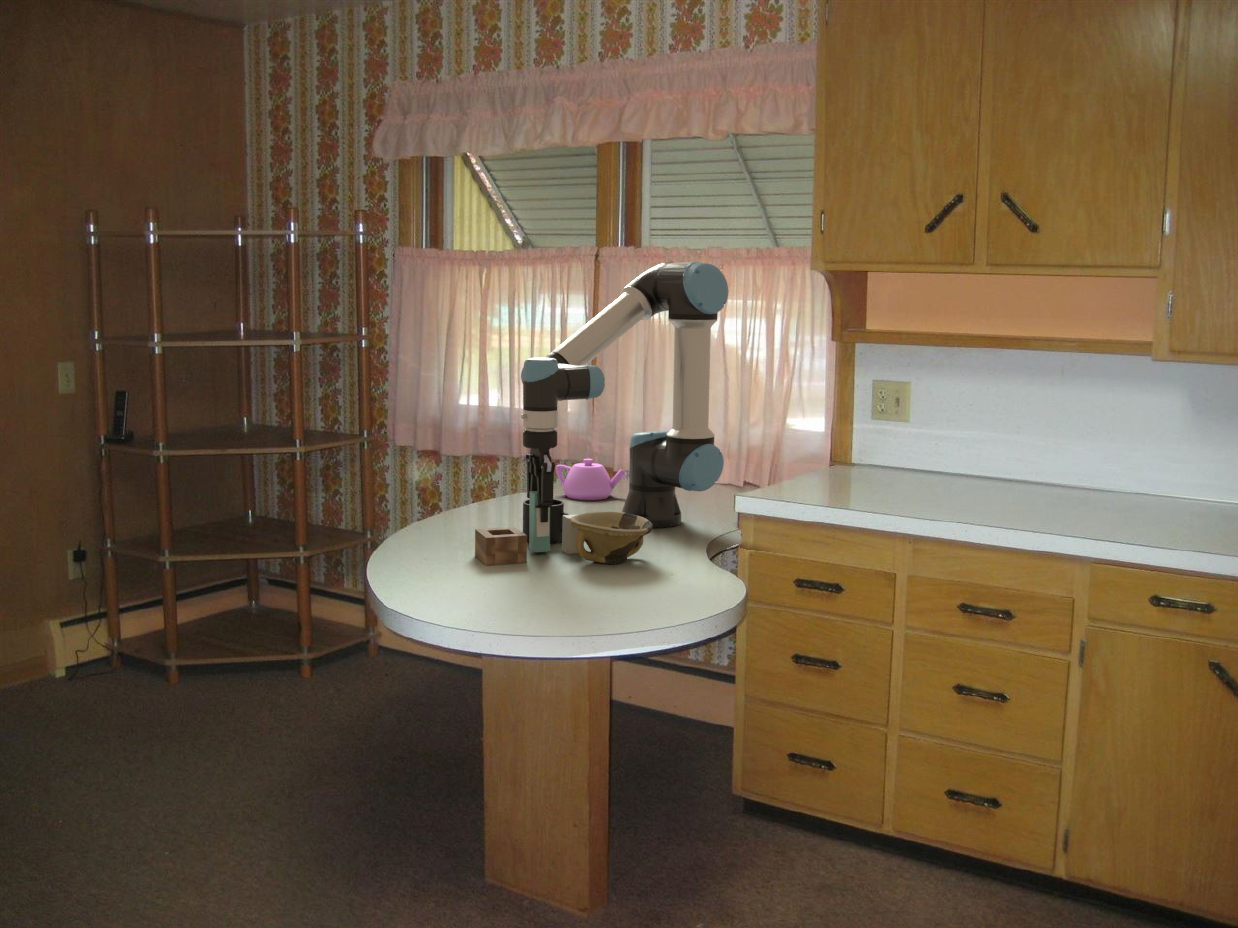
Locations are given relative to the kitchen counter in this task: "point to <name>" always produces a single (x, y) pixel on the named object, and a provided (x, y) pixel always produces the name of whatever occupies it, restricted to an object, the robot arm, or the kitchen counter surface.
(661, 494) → the robot arm
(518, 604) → the kitchen counter surface
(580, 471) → the teapot
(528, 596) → the kitchen counter surface
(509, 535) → the socket block
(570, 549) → the peg mid
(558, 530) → the mug
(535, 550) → the peg long
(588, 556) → the bowl
